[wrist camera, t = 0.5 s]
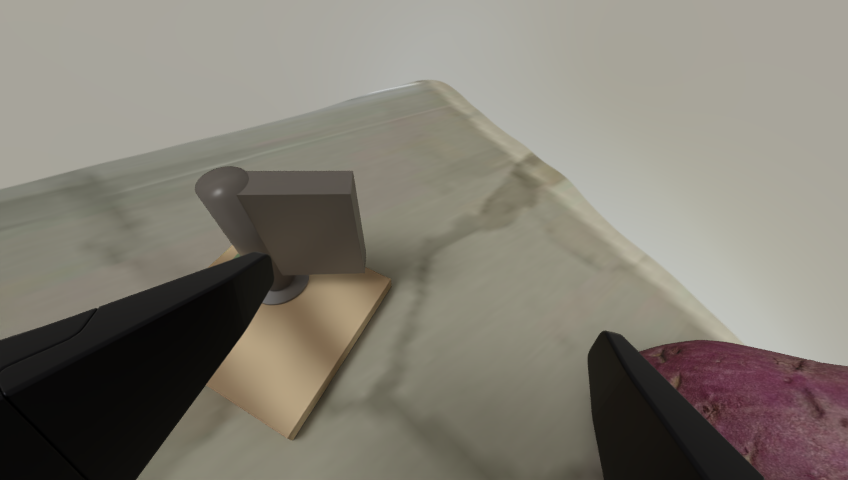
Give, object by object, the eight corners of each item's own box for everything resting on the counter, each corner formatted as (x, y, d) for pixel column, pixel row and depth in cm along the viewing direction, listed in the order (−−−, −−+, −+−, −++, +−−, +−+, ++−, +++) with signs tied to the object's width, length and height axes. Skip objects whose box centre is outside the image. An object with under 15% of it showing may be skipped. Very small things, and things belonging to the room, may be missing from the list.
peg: (366, 288, 25) (350, 199, 17) (255, 291, 24) (187, 201, 16) (369, 229, 28) (356, 133, 20) (272, 231, 27) (221, 133, 20)
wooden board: (292, 440, 20) (285, 437, 19) (144, 343, 23) (129, 335, 22) (393, 283, 27) (392, 274, 26) (268, 224, 30) (262, 213, 29)
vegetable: (705, 405, 25) (1038, 332, 14) (742, 584, 19) (1442, 713, 7) (588, 336, 26) (826, 212, 14) (580, 488, 19) (1026, 475, 8)
